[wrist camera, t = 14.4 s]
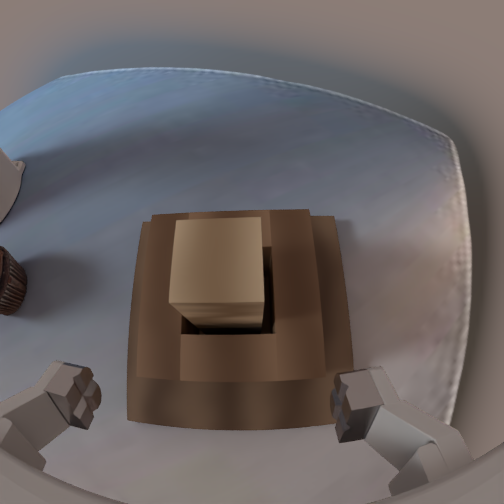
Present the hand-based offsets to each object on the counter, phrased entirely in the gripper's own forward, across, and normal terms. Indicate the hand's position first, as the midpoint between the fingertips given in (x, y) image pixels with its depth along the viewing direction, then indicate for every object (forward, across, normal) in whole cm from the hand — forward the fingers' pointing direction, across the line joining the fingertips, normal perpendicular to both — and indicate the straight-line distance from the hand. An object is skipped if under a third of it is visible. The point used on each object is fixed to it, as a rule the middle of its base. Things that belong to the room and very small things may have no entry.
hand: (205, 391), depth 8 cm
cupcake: (+20, +34, +8) cm, 40 cm away
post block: (+18, 0, +9) cm, 20 cm away
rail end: (+15, 0, +6) cm, 16 cm away
